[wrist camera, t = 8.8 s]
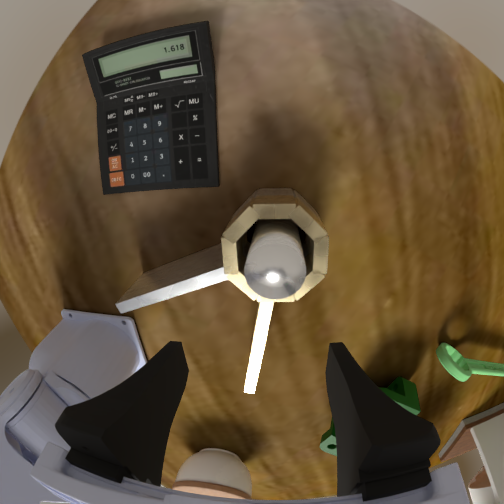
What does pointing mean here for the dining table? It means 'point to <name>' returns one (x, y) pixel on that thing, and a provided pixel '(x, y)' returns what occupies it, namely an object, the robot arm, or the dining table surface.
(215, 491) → the lidded jar
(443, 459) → the grey boxy piece
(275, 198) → the tan ring with arms
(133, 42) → the calculator
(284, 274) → the hinge pin
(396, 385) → the clamp
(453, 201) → the dining table surface
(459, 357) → the wrench
